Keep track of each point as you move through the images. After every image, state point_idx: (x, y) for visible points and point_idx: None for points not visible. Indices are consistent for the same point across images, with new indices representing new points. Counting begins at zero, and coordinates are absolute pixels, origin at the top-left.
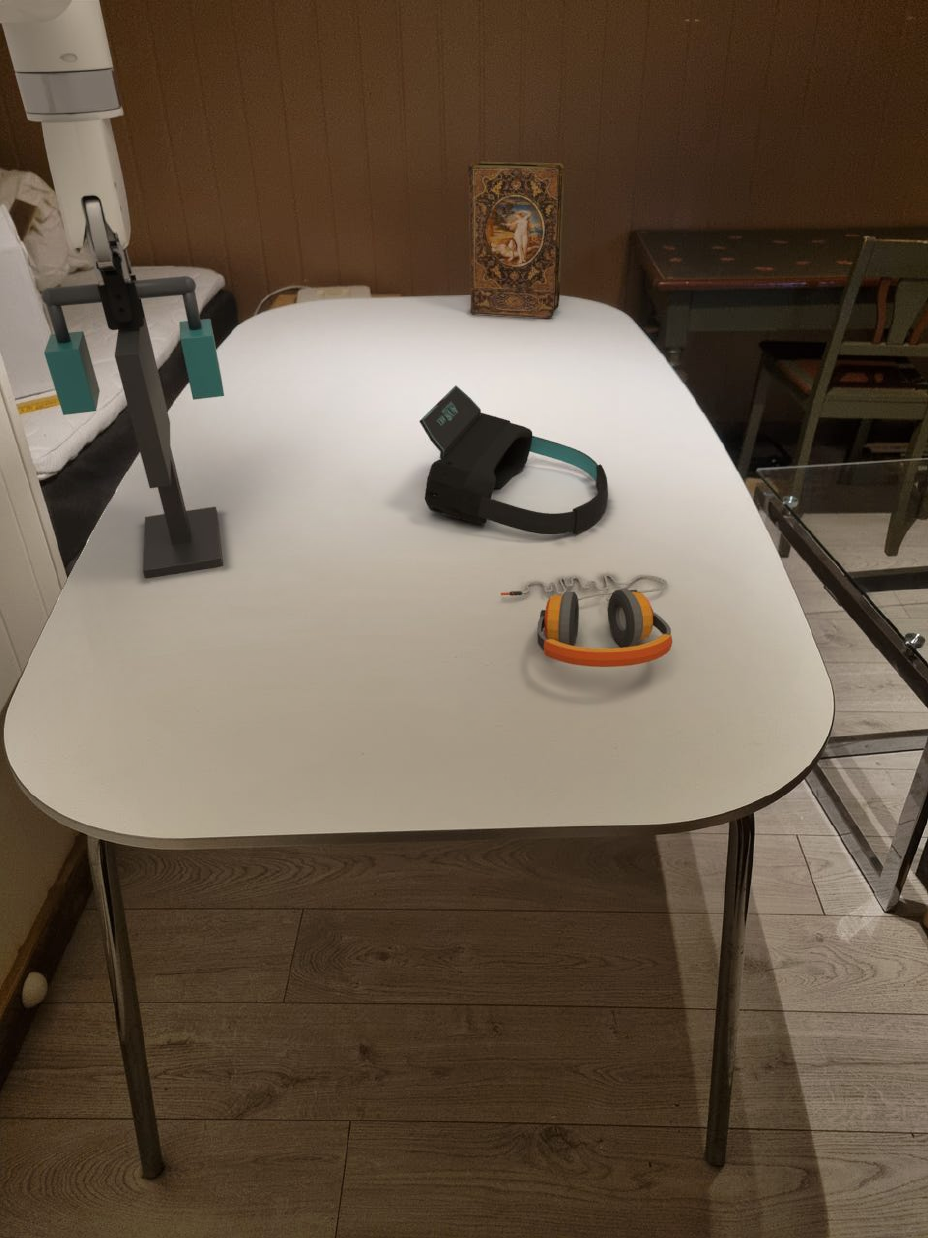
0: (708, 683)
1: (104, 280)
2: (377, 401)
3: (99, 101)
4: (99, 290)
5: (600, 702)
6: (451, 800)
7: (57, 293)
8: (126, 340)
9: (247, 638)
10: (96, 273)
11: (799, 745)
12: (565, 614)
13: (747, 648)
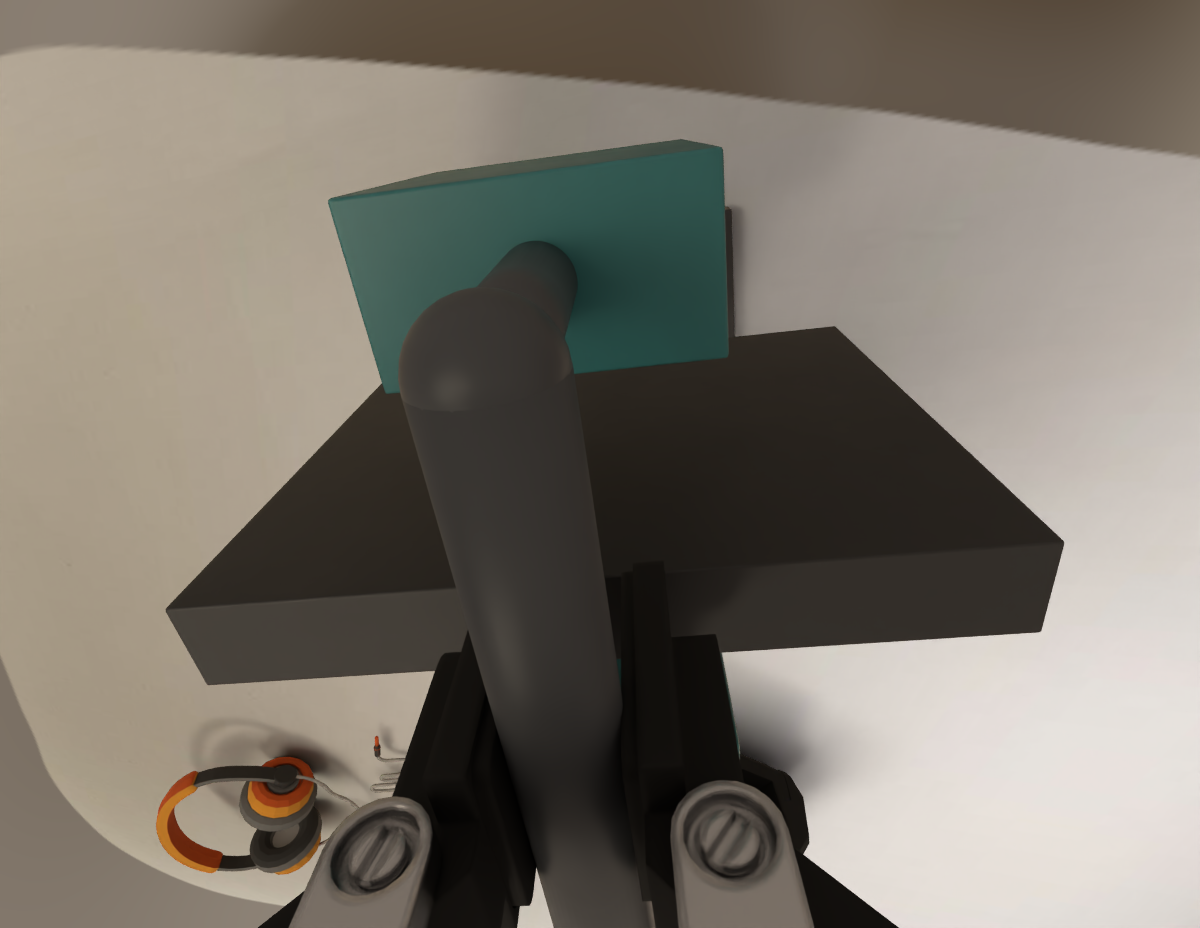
0: (237, 840)
1: (302, 894)
2: (1157, 667)
3: None
4: (434, 751)
5: (196, 766)
6: (20, 633)
7: (423, 471)
8: (376, 631)
9: (289, 435)
10: (299, 919)
11: (159, 864)
12: (243, 811)
13: (295, 876)
